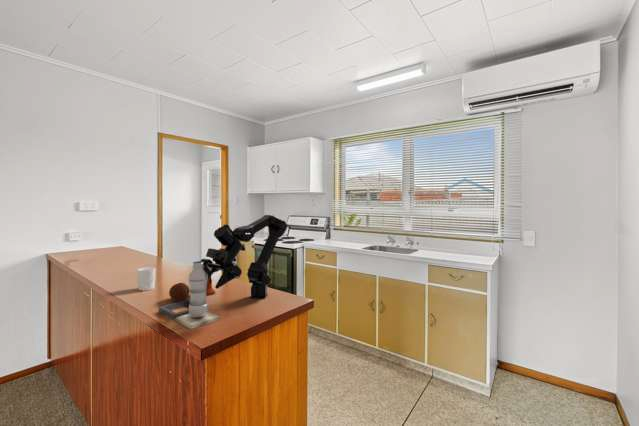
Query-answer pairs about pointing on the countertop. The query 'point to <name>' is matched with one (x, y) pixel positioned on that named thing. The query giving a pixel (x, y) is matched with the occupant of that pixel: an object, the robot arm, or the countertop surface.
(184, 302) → the collar
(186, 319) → the board
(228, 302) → the countertop surface
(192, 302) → the plastic bottle
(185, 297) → the potato
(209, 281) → the toy drill
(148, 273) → the white cup
